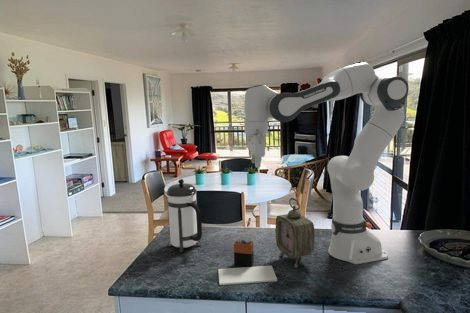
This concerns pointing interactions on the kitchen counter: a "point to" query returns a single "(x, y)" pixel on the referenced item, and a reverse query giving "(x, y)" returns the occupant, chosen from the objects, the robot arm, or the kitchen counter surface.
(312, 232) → the tabletop clock
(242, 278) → the mat
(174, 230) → the coffee press
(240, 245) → the battery
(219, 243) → the kitchen counter surface
